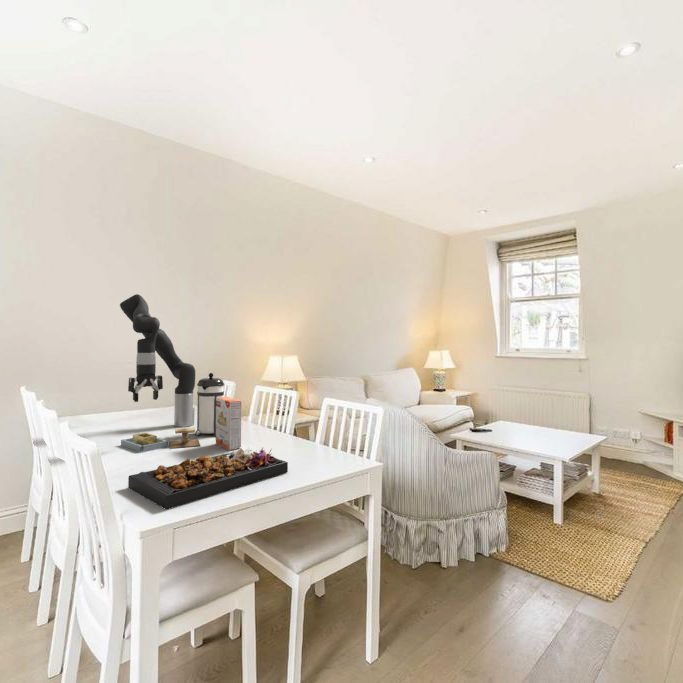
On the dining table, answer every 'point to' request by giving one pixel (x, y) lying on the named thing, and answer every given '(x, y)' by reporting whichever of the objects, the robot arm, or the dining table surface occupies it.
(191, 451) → the dining table surface
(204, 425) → the coffee press
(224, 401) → the cracker box
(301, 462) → the dining table surface
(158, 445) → the tray
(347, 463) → the dining table surface
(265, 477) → the food platter
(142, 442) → the gold rectangular hollow block
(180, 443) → the brown piece
